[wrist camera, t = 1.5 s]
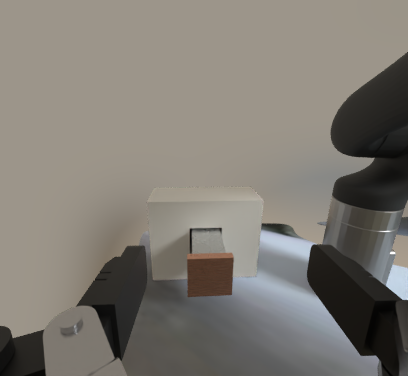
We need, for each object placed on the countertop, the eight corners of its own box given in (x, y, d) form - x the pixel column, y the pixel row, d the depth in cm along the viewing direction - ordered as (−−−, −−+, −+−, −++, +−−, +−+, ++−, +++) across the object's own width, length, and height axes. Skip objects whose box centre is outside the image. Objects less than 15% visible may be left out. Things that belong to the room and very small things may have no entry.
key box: (245, 252, 49) (251, 186, 45) (256, 276, 42) (263, 200, 37) (158, 255, 48) (154, 187, 43) (152, 280, 41) (146, 202, 36)
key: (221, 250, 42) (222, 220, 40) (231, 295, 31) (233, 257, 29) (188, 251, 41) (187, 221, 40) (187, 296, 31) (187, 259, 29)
